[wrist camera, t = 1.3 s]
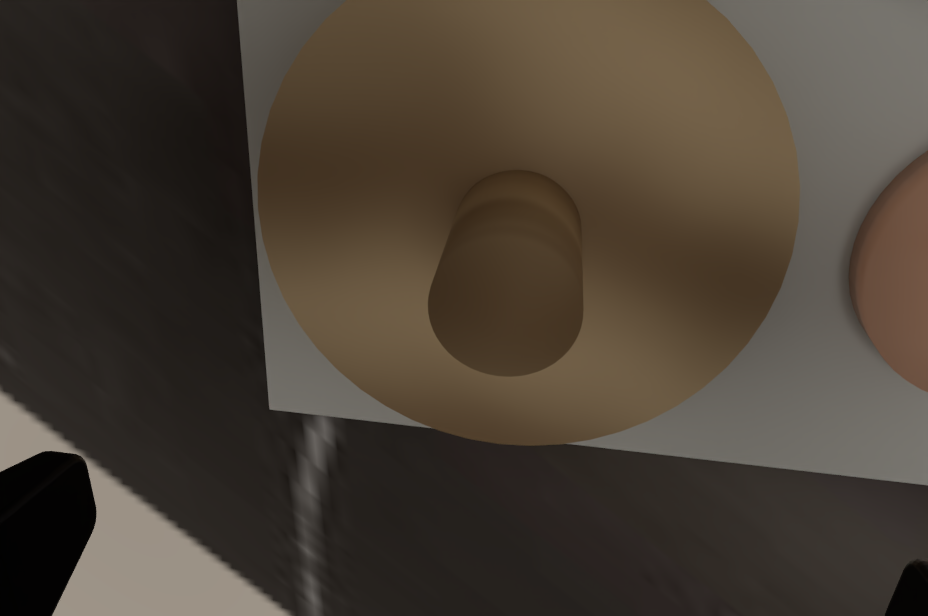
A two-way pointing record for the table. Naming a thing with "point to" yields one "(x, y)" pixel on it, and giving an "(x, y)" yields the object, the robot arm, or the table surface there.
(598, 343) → the lid
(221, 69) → the table surface
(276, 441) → the table surface
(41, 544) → the robot arm
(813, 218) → the mat
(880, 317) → the pink glossy dome
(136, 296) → the table surface
